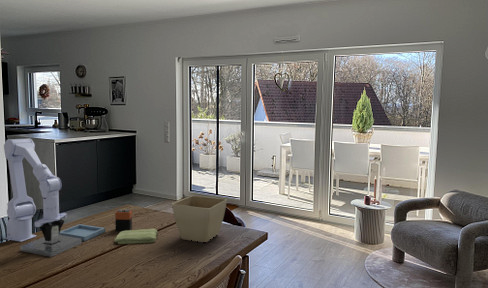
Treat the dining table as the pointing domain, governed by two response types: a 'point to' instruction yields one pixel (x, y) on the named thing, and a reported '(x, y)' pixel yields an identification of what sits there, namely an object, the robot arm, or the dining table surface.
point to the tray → (82, 232)
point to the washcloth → (136, 236)
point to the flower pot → (199, 217)
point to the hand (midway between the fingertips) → (51, 239)
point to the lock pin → (54, 235)
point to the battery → (123, 220)
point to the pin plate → (50, 246)
